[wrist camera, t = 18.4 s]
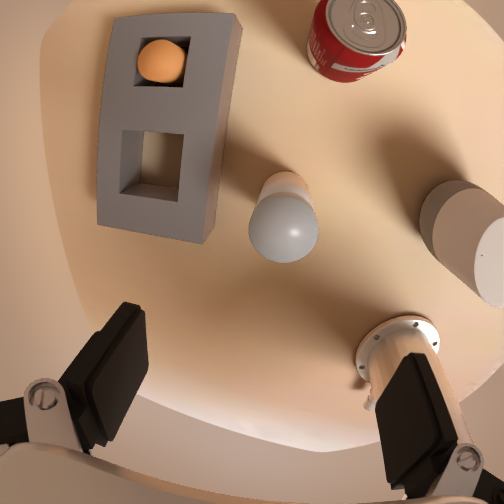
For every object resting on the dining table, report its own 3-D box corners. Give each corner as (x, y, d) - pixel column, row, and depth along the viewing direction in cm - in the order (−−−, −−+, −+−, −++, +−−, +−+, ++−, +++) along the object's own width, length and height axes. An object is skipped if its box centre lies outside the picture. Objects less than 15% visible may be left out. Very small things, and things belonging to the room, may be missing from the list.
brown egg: (192, 86, 28) (175, 81, 23) (156, 84, 28) (134, 80, 23) (198, 49, 26) (182, 39, 22) (161, 49, 26) (141, 40, 22)
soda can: (301, 75, 27) (309, 49, 16) (311, 17, 24) (322, -33, 13) (367, 91, 27) (409, 77, 16) (375, 33, 24) (418, -4, 13)
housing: (214, 226, 35) (202, 244, 30) (119, 210, 35) (97, 224, 31) (242, 28, 25) (234, 13, 21) (136, 28, 26) (114, 18, 21)
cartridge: (304, 221, 33) (310, 268, 23) (258, 212, 33) (244, 256, 23) (313, 176, 31) (325, 204, 21) (265, 167, 31) (254, 191, 21)
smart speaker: (486, 188, 29) (561, 230, 16) (462, 257, 32) (521, 321, 20) (424, 164, 29) (498, 198, 16) (401, 241, 33) (452, 311, 20)
